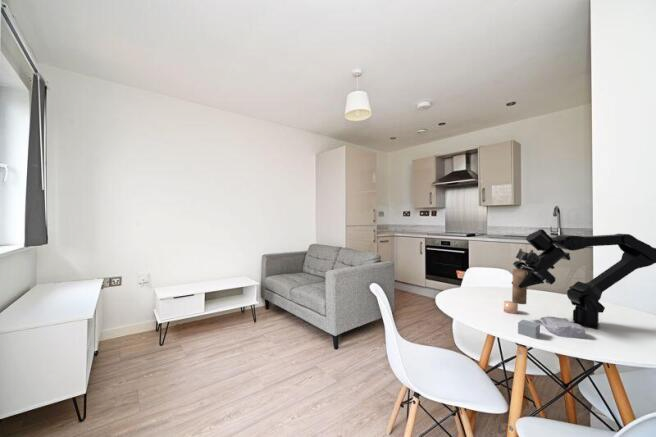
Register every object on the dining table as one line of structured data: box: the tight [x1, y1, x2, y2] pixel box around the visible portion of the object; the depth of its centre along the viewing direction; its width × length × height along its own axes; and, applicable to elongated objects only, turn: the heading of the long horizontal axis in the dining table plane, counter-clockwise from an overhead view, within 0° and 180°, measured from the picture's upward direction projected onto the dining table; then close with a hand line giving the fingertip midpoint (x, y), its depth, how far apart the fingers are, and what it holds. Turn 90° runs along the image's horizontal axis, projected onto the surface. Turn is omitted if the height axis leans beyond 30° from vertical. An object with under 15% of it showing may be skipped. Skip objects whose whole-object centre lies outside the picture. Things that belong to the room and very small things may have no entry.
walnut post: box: [511, 268, 528, 305], centre depth 105 cm, size 5×5×13 cm
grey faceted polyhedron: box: [517, 319, 541, 339], centre depth 92 cm, size 5×5×4 cm
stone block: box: [539, 316, 586, 339], centre depth 96 cm, size 12×5×10 cm
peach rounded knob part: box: [503, 300, 519, 315], centre depth 114 cm, size 5×5×4 cm
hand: (515, 285), depth 106 cm, fingers closed on walnut post, 5 cm apart
